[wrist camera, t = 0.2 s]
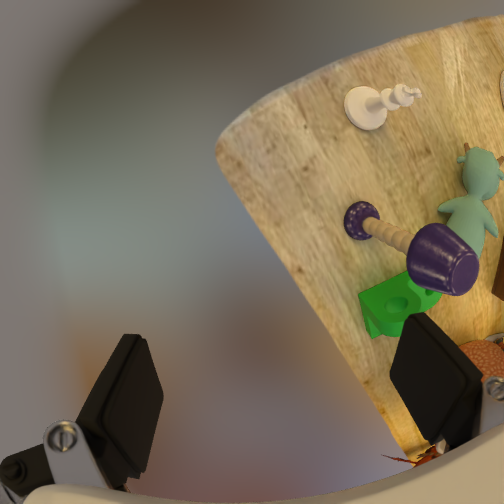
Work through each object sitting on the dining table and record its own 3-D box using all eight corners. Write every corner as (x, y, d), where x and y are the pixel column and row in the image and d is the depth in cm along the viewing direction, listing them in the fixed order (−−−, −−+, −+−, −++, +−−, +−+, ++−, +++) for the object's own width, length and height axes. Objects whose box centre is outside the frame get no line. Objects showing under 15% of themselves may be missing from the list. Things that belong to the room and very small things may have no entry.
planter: (403, 389, 41) (415, 457, 27) (454, 319, 33) (490, 391, 20) (462, 393, 39) (479, 449, 26) (510, 332, 32) (542, 389, 18)
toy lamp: (337, 204, 28) (436, 257, 12) (374, 189, 27) (488, 227, 12) (349, 244, 29) (439, 326, 13) (384, 229, 29) (487, 293, 13)
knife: (518, 327, 37) (521, 328, 36) (515, 337, 37) (518, 338, 37) (473, 338, 37) (476, 339, 36) (470, 350, 37) (472, 351, 36)
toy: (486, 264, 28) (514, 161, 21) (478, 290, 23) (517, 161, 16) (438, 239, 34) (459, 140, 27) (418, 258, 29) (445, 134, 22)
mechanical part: (366, 330, 33) (391, 369, 26) (357, 294, 31) (386, 330, 24) (437, 292, 32) (471, 320, 25) (434, 255, 30) (473, 280, 23)
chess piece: (383, 134, 25) (440, 129, 16) (342, 124, 25) (389, 110, 16) (385, 93, 24) (440, 75, 14) (345, 81, 24) (390, 52, 14)
